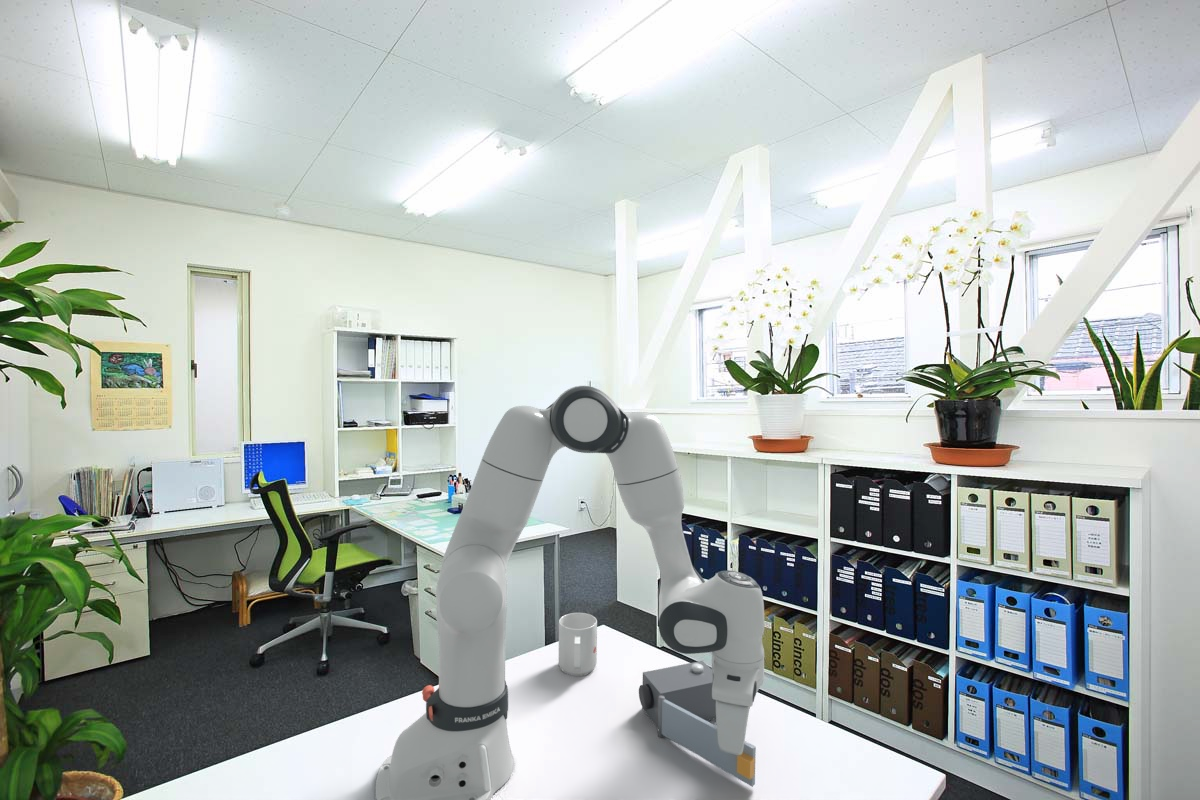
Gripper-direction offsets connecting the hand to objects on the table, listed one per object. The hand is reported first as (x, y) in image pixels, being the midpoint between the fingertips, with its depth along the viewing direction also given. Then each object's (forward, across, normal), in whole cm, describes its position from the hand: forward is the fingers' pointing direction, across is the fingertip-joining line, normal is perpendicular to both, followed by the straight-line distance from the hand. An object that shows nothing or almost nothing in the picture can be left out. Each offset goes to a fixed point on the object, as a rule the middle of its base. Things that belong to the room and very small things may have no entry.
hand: (737, 745), depth 95 cm
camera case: (+4, -12, -12) cm, 18 cm away
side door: (+4, +1, -6) cm, 7 cm away
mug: (+4, -19, -38) cm, 42 cm away
